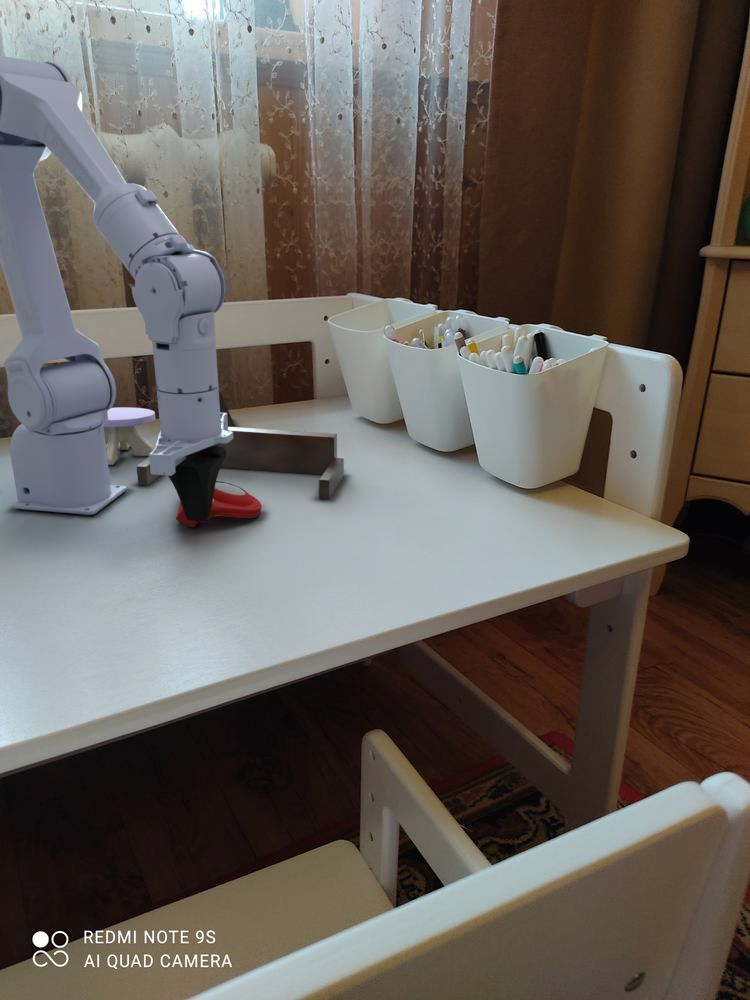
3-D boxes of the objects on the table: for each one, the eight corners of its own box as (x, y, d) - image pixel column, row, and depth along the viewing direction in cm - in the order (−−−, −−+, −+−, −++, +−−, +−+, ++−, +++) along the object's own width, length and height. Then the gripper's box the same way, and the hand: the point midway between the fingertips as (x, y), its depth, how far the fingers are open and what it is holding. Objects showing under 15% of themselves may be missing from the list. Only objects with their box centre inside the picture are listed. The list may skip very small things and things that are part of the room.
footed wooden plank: (138, 485, 92) (133, 445, 90) (171, 459, 101) (168, 422, 99) (329, 499, 88) (328, 458, 87) (346, 472, 97) (346, 434, 95)
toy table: (169, 447, 106) (166, 406, 103) (139, 468, 97) (134, 425, 95) (104, 442, 107) (99, 402, 105) (68, 463, 99) (62, 419, 97)
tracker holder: (280, 496, 86) (232, 506, 77) (268, 532, 87) (220, 547, 78) (192, 457, 90) (136, 462, 80) (182, 492, 91) (126, 501, 81)
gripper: (198, 408, 66) (209, 553, 71) (252, 372, 79) (258, 496, 84) (121, 404, 67) (137, 546, 72) (187, 369, 80) (197, 491, 85)
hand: (198, 519), depth 78 cm, fingers closed
